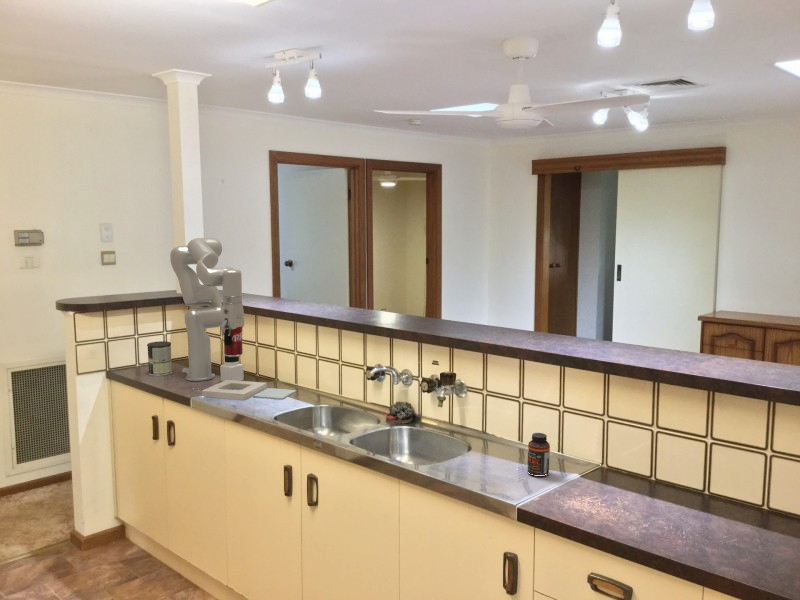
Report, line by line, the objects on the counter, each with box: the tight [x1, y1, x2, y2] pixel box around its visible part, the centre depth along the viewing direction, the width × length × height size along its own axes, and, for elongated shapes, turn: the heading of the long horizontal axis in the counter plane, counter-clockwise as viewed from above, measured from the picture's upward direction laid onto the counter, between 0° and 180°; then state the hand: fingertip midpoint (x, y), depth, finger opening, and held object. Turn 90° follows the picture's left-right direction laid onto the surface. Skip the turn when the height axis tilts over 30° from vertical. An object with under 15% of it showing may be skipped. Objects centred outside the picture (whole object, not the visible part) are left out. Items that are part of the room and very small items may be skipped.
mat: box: [252, 387, 298, 401], centre depth 274 cm, size 13×13×1 cm
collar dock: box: [201, 380, 268, 401], centre depth 277 cm, size 19×19×2 cm
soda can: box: [223, 326, 243, 357], centre depth 275 cm, size 7×7×12 cm
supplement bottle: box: [526, 432, 551, 475], centre depth 188 cm, size 6×6×11 cm
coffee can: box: [146, 340, 173, 377], centre depth 311 cm, size 10×10×14 cm
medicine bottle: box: [219, 354, 245, 382], centre depth 297 cm, size 7×7×12 cm
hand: (233, 343), depth 275 cm, fingers closed on soda can, 7 cm apart
